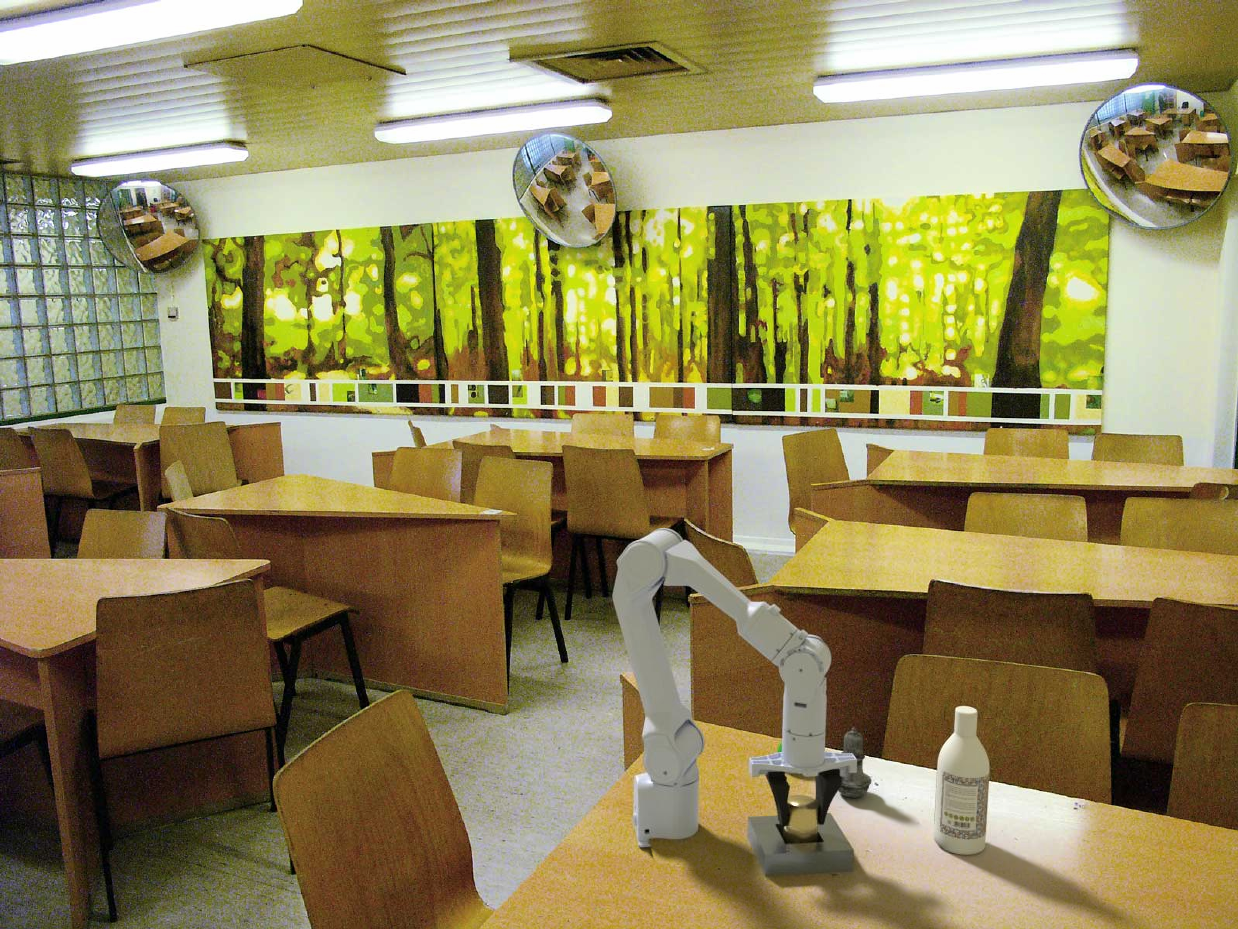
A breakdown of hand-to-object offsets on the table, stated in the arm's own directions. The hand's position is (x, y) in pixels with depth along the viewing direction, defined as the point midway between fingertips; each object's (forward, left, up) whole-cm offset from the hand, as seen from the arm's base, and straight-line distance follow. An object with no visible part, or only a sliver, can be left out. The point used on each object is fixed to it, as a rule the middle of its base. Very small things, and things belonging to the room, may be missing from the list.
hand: (800, 822), depth 135 cm
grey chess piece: (+13, +16, -6) cm, 21 cm away
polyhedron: (+7, +28, -6) cm, 29 cm away
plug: (0, 0, -4) cm, 4 cm away
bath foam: (+24, +2, -6) cm, 25 cm away
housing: (0, 0, -6) cm, 6 cm away
